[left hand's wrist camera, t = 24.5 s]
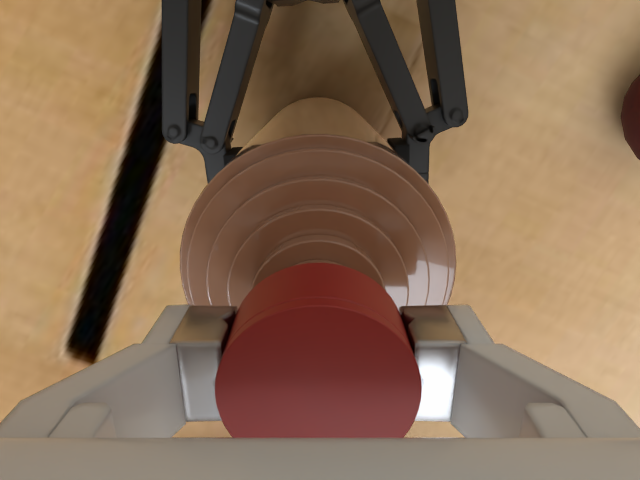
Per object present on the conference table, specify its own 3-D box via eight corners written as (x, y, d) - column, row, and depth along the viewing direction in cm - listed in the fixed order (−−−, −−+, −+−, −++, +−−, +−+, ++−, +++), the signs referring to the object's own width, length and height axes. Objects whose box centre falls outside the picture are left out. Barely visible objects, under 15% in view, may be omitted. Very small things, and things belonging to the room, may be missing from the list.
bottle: (401, 162, 31) (605, 382, 9) (314, 237, 32) (308, 570, 11) (321, 69, 29) (333, 60, 7) (234, 155, 30) (24, 364, 9)
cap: (416, 392, 10) (436, 455, 9) (259, 422, 11) (248, 490, 9) (387, 243, 9) (403, 284, 7) (209, 283, 9) (185, 330, 8)
